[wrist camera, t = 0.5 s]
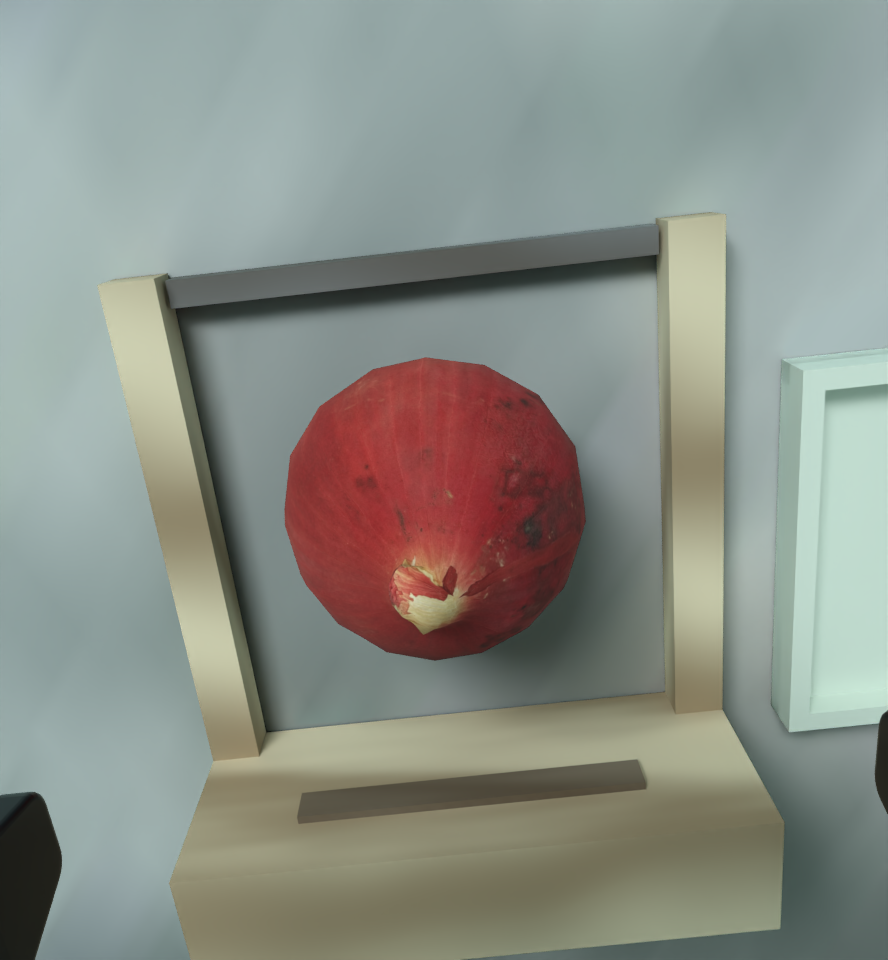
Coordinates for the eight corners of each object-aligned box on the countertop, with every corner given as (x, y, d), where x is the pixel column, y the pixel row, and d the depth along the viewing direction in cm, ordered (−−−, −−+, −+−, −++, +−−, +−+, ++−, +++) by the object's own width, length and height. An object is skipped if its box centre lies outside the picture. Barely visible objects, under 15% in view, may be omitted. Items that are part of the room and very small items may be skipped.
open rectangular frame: (709, 778, 24) (780, 928, 19) (243, 824, 24) (197, 985, 19) (711, 212, 18) (808, 225, 14) (113, 279, 19) (7, 315, 14)
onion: (533, 303, 19) (601, 387, 11) (573, 531, 21) (654, 732, 13) (283, 357, 19) (191, 474, 12) (345, 578, 21) (301, 799, 14)
